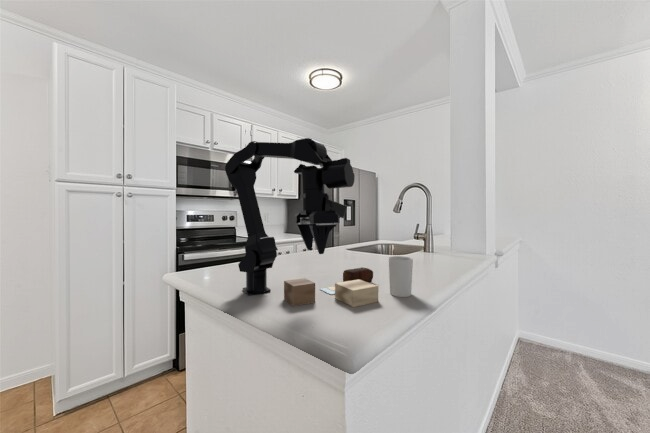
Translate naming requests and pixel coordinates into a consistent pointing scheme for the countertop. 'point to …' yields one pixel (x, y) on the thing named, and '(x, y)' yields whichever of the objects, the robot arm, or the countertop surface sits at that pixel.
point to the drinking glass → (400, 275)
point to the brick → (358, 274)
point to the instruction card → (329, 290)
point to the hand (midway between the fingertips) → (315, 251)
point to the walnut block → (299, 291)
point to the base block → (356, 292)
